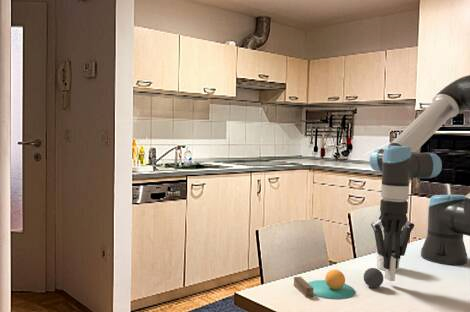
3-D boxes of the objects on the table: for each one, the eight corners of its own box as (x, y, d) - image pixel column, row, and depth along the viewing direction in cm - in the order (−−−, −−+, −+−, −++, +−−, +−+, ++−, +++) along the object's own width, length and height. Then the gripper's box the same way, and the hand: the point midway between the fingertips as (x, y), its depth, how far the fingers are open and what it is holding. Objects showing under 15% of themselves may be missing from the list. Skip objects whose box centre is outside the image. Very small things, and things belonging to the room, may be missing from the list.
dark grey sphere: (362, 263, 133) (357, 281, 133) (373, 270, 127) (368, 288, 128) (378, 267, 134) (373, 284, 134) (389, 273, 129) (384, 292, 129)
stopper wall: (300, 285, 131) (300, 276, 130) (312, 296, 122) (313, 287, 122) (293, 285, 130) (294, 277, 130) (306, 297, 121) (306, 288, 121)
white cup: (402, 273, 145) (403, 242, 144) (376, 270, 146) (378, 240, 146) (398, 265, 152) (400, 236, 152) (373, 263, 154) (375, 234, 153)
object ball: (332, 263, 131) (318, 276, 130) (340, 269, 125) (326, 283, 125) (343, 276, 132) (329, 289, 131) (352, 282, 126) (338, 296, 126)
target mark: (340, 279, 136) (340, 279, 136) (364, 297, 123) (364, 296, 123) (297, 282, 133) (297, 281, 133) (316, 300, 120) (316, 299, 120)
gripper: (406, 197, 136) (401, 274, 138) (367, 197, 133) (362, 276, 135) (422, 201, 129) (417, 282, 130) (381, 201, 126) (376, 285, 127)
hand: (389, 279), depth 132 cm, fingers closed
